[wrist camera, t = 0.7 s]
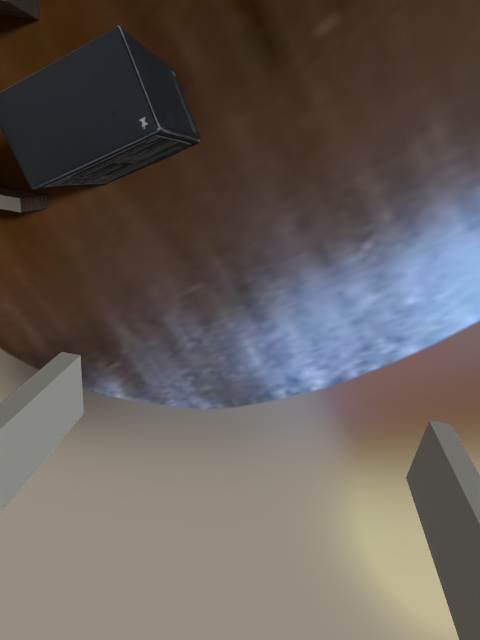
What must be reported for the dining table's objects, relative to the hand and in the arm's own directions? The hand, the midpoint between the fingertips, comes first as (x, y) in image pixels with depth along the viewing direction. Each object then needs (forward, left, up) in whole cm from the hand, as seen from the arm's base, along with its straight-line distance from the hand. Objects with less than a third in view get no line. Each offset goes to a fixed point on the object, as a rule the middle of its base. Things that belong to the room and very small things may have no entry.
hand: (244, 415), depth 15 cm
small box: (-10, -14, -24) cm, 30 cm away
